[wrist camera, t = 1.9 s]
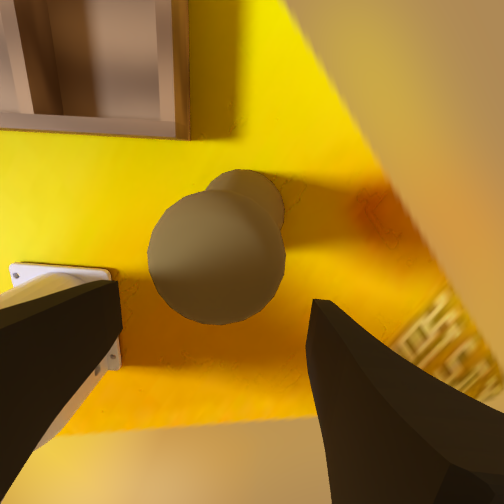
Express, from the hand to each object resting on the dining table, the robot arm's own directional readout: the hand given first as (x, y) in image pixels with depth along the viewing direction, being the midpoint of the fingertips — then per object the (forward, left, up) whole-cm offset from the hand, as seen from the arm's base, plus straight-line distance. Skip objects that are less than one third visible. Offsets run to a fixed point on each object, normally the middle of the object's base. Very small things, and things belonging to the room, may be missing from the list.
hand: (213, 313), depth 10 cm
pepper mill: (+2, 0, -11) cm, 11 cm away
